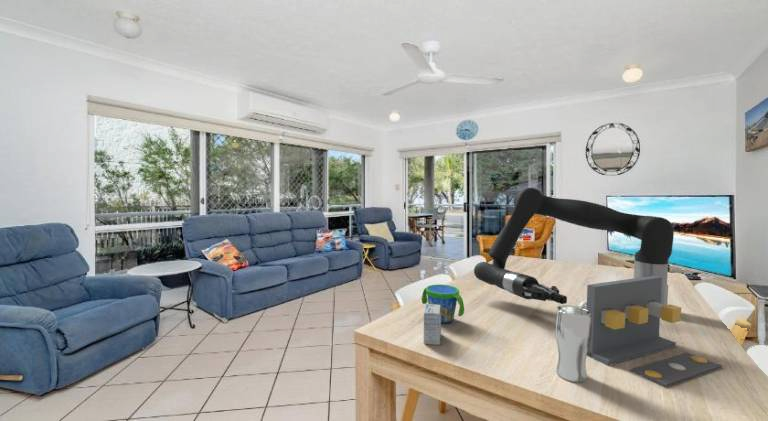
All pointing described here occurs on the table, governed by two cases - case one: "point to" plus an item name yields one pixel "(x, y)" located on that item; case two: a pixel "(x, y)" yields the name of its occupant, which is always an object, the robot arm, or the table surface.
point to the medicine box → (432, 324)
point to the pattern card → (675, 369)
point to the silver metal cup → (573, 342)
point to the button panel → (634, 337)
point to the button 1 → (609, 317)
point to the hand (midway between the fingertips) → (565, 300)
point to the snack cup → (444, 300)
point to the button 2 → (664, 311)
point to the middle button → (636, 314)
